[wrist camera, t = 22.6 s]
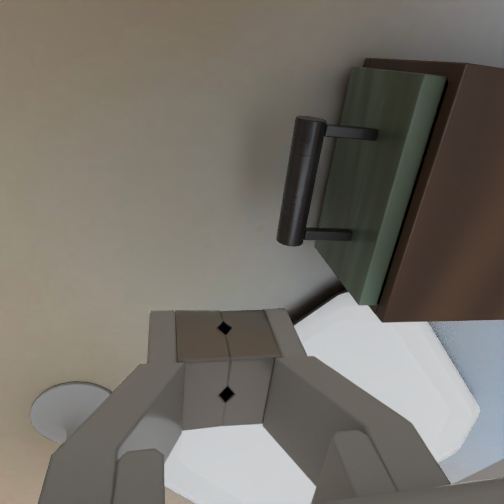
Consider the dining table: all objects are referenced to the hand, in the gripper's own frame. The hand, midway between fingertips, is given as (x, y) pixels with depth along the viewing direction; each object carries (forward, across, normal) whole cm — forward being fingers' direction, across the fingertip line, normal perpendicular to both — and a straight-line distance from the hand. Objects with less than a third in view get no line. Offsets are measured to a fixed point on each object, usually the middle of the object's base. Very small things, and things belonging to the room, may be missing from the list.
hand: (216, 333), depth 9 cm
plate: (+19, -15, +28) cm, 36 cm away
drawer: (+18, -15, +1) cm, 23 cm away
